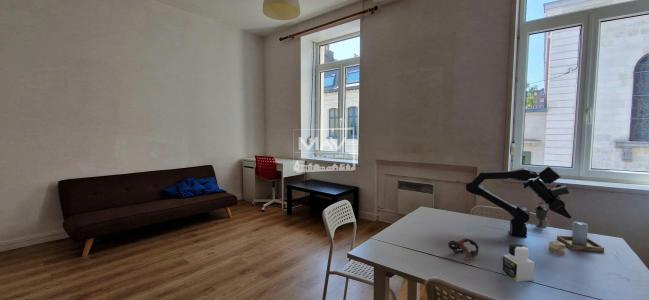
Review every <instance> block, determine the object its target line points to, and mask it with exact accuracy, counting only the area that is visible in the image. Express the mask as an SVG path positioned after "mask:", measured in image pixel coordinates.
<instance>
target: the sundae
mask: <svg viewBox="0 0 649 300" xmlns="http://www.w3.org/2000/svg"><path fill="white" fill-rule="evenodd" d="M540 199H541V198H540ZM534 210H535V215H536V216H535V217H536V218H537V219H538V221H539V223H537V224H535V227H537V228H540V229H546V228H547V226H546V225H544V224H543V221H544V220H546V219H547V214H548V212H549V211H550V209H549V208H548V207H547V206H545V203H544V201H543V200H542V199H541V202H539V203H538V204H537V205H536V206H534Z"/></svg>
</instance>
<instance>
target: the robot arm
mask: <svg viewBox="0 0 649 300" xmlns="http://www.w3.org/2000/svg"><path fill="white" fill-rule="evenodd" d="M561 178H562V176H561V175H560V174H559V173H558V172H557V171H556V170H554V169H553V168H552V167H550V166H546V167H545V168H544V169H543V170H541V171H540V172H538V171H533V170H531V169H530V168H527V167H523V168H518V169H513V170H500V171H481V172H480V173H479V174H478V175H477V176H476V177H475V178H474V179H473V180H470V181H469V182H467V184H465V190H466V191H467V193H470V194H473V195H474V196H479V197H481V198H484V199H485V200H487V201H489V202H490V203H492V204H494V205H496V206H497V207H499V208H501V209H502V210H504V211H506V212H507V213H508V214H509V215H511V219H510V221H509V230H508V231H507V232H508V233H509V234H510V235H511V236H512V237H519V238H528V236H527V235H528V227H527V224H526V223H527V222H529V221H530V218H531V213H530V211H529V209H528V208H527V207H524V206H522V205H521V204H519V203H518V204H517V205H515V204H512V203H510V202H508V201H506V200H505V199H503V198H501V197H499V196H497V194H494V193H492V192H491V191H489V190H487V189H486V188H485V187H484V186H483V185H482V183H483V182H484V181H485V180H506V179H507V180H508V179H509V180H515V181H523V189H526V188H529V189H531V191H533V192H534V193H535V194H536V195H537V197H538V198H540V199H542V200H541V201H543V203H544V204H546V205H547V208H548V209H549V211H551V212H552V213H553V212H554V213H556V214H558V215H561V216H562V217H564V218H567V219H568V220H570V219H572V216H571V214H570V213H569V212H568V211H567V209H566V207H565V206H566V203H565V201H564V200H562V199H561V197H560V196H562V195H568V194H570V192H569V191H570V190H569V189H568V188H567V186H566V185H565V184H564V185H561V184H560V183H558V184H555V187H553V188H550V187H548V186H547V184H549V185H551V184H553V183H554V182H556V181H557V180H559V179H561Z"/></svg>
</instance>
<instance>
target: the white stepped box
mask: <svg viewBox="0 0 649 300" xmlns="http://www.w3.org/2000/svg"><path fill="white" fill-rule="evenodd" d="M529 252H530V250H529V248H528V247H527V246H526V245H524V244H520V243H510V244H509V245H508V254H503V255H502V273H503V274H505V275H506V276H507V277H509V278H510V279H511V280H513V281H514V282H517V283H518V282H519V283H520V282H532V281H534V280H535V262H534V261H533V260H531V259H530V258H529Z"/></svg>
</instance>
